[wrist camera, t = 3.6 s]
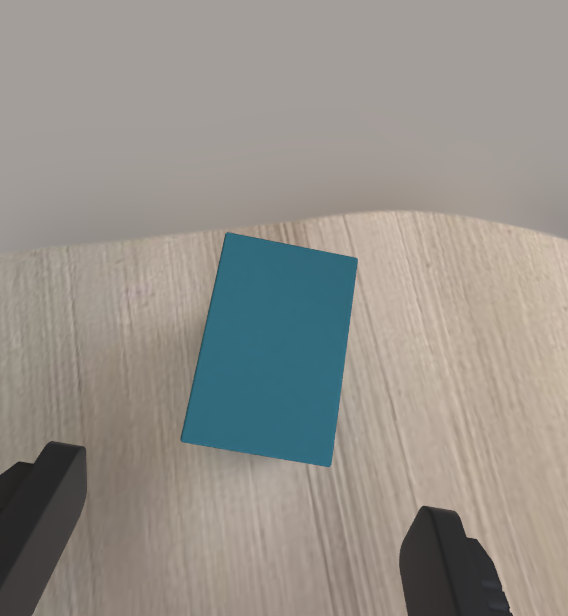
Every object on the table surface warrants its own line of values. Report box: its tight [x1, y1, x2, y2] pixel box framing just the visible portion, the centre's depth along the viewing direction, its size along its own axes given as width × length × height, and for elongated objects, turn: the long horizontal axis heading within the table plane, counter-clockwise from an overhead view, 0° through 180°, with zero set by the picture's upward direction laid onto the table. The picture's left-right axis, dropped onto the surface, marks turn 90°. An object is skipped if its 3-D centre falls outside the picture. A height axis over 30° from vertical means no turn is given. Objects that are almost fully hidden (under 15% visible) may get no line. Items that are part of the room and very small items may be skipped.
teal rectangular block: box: [181, 232, 358, 467], centre depth 17 cm, size 4×6×9 cm, turn 171°
